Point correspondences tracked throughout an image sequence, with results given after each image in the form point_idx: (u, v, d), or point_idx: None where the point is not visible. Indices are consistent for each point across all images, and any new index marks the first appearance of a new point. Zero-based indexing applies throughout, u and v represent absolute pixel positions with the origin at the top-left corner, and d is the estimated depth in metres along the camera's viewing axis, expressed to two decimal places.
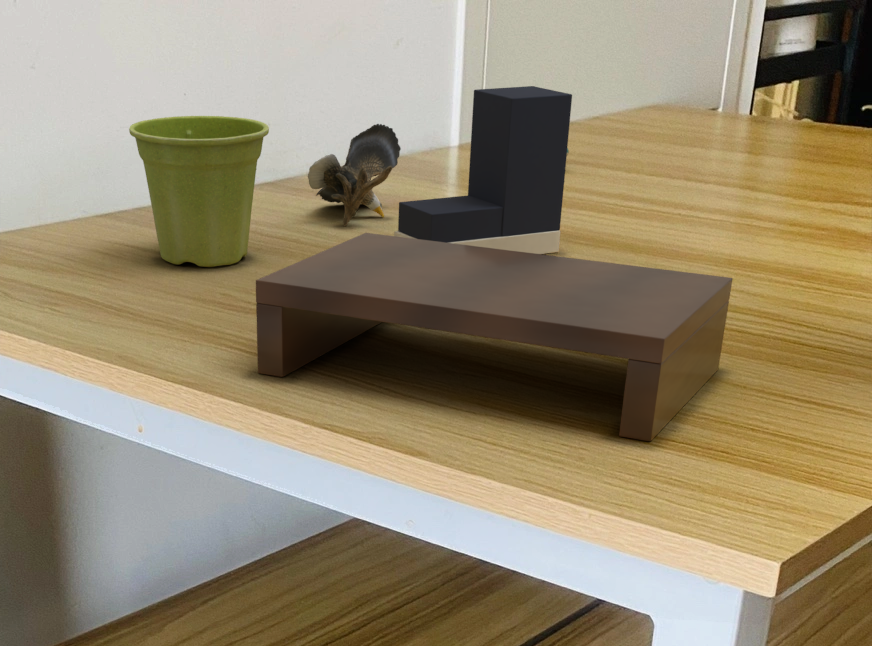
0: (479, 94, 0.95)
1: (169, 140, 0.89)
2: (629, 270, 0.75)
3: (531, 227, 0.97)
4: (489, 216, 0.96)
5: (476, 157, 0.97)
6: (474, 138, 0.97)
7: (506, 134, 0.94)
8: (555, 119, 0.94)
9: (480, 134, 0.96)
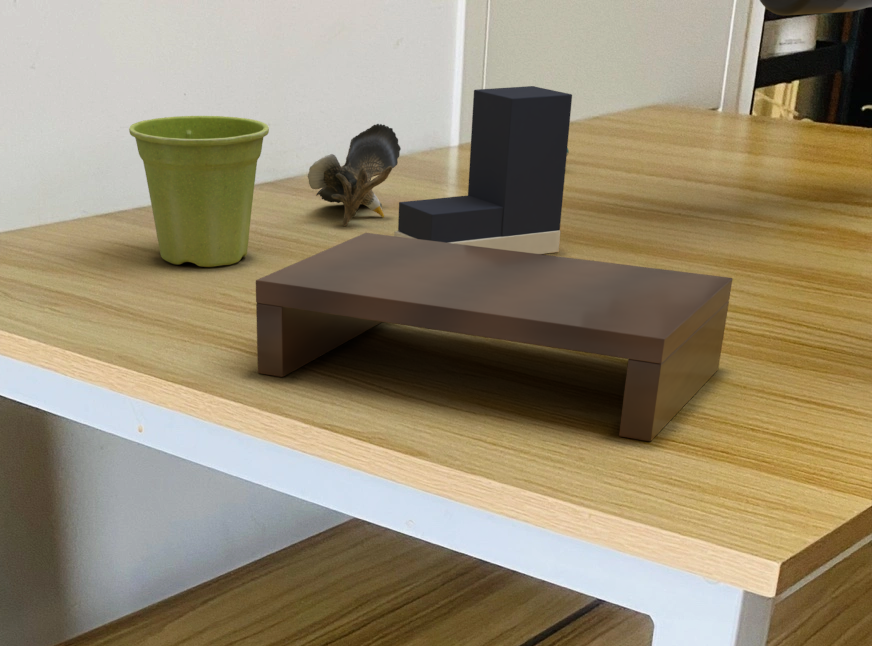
0: (479, 94, 0.95)
1: (169, 140, 0.89)
2: (629, 270, 0.75)
3: (531, 227, 0.97)
4: (489, 216, 0.96)
5: (476, 157, 0.97)
6: (474, 138, 0.97)
7: (506, 134, 0.94)
8: (555, 119, 0.94)
9: (480, 134, 0.96)
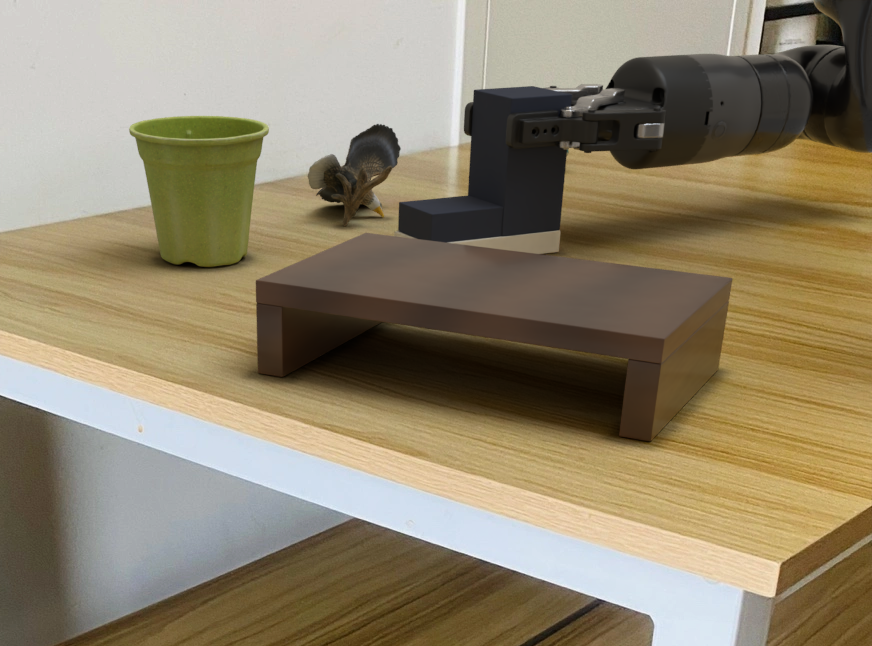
0: (479, 94, 0.95)
1: (169, 140, 0.89)
2: (629, 270, 0.75)
3: (531, 227, 0.97)
4: (489, 216, 0.96)
5: (476, 157, 0.97)
6: (474, 138, 0.97)
7: None
8: None
9: (480, 134, 0.96)
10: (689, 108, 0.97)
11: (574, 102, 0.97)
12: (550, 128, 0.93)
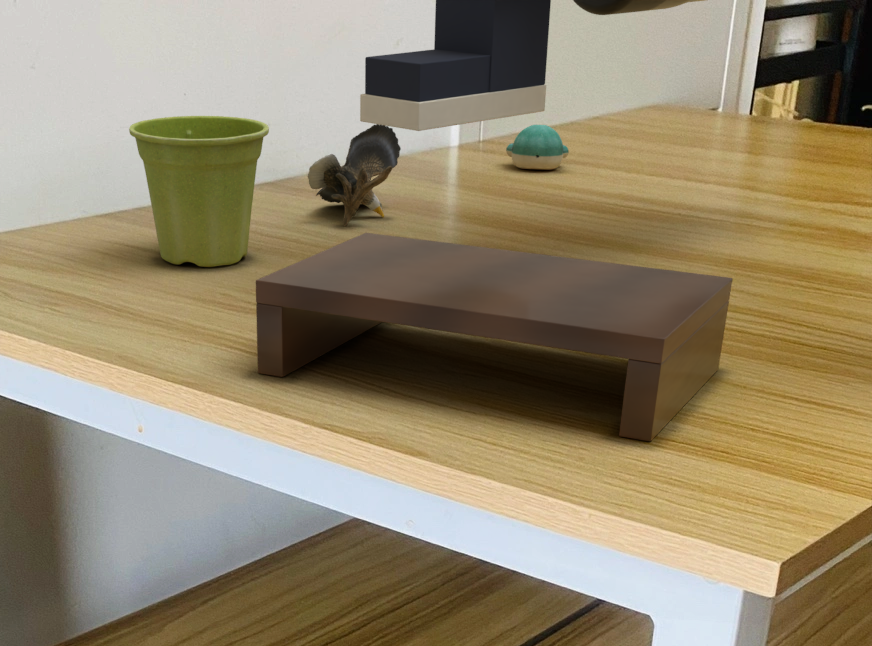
0: None
1: (169, 140, 0.89)
2: (629, 270, 0.75)
3: (518, 80, 0.83)
4: (477, 67, 0.80)
5: (446, 0, 0.82)
6: None
7: None
8: None
9: None
10: None
11: None
12: None
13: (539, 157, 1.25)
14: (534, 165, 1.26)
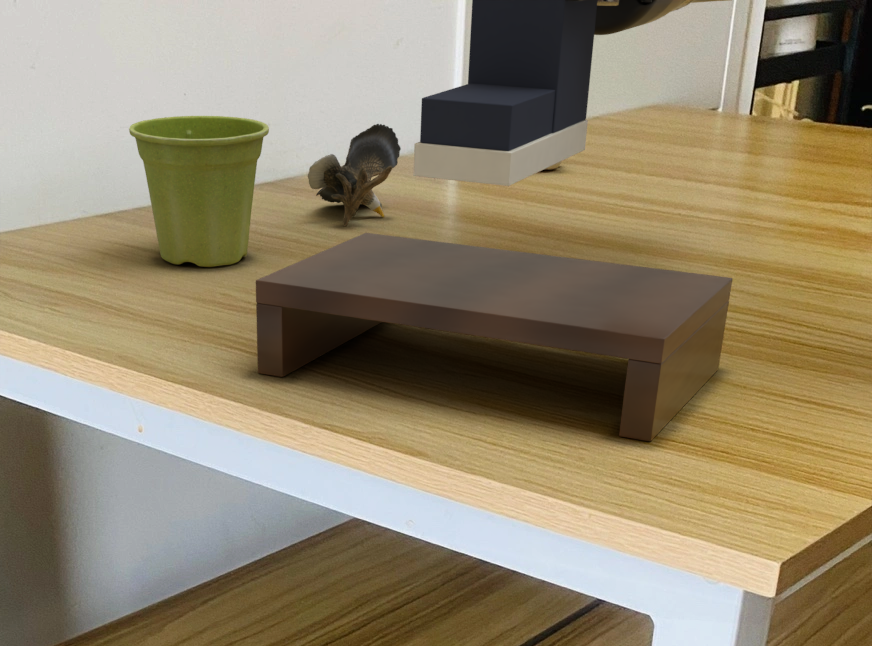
0: None
1: (169, 140, 0.89)
2: (629, 270, 0.75)
3: (571, 117, 0.70)
4: (546, 104, 0.67)
5: (487, 25, 0.67)
6: None
7: None
8: None
9: None
10: None
11: None
12: None
13: None
14: None
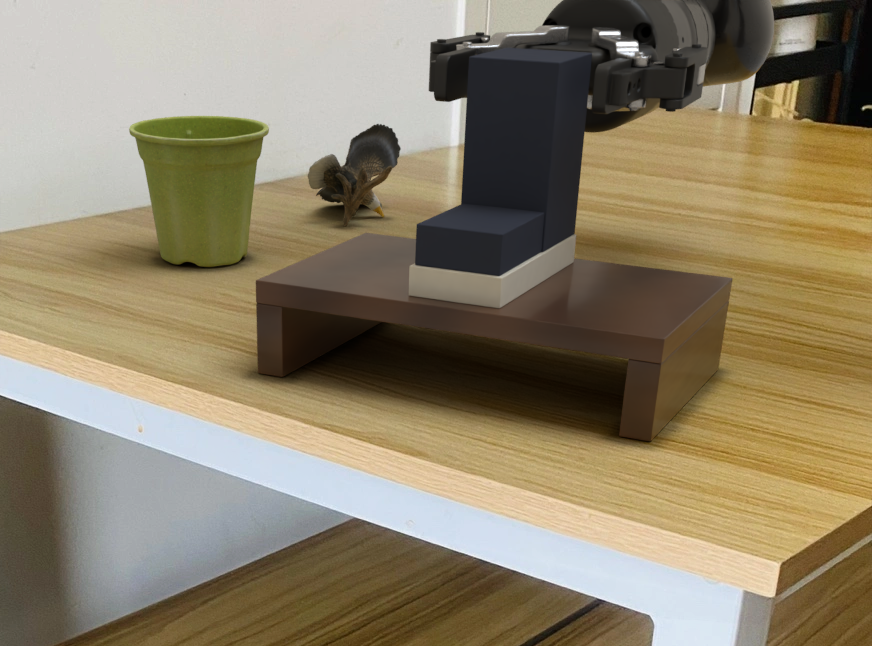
0: (483, 62, 0.68)
1: (169, 140, 0.89)
2: (629, 270, 0.75)
3: (560, 235, 0.73)
4: (536, 227, 0.70)
5: (479, 150, 0.70)
6: (474, 124, 0.70)
7: (548, 113, 0.68)
8: (581, 88, 0.70)
9: (487, 118, 0.70)
10: (668, 47, 0.77)
11: (559, 48, 0.73)
12: (636, 82, 0.69)
13: None
14: None
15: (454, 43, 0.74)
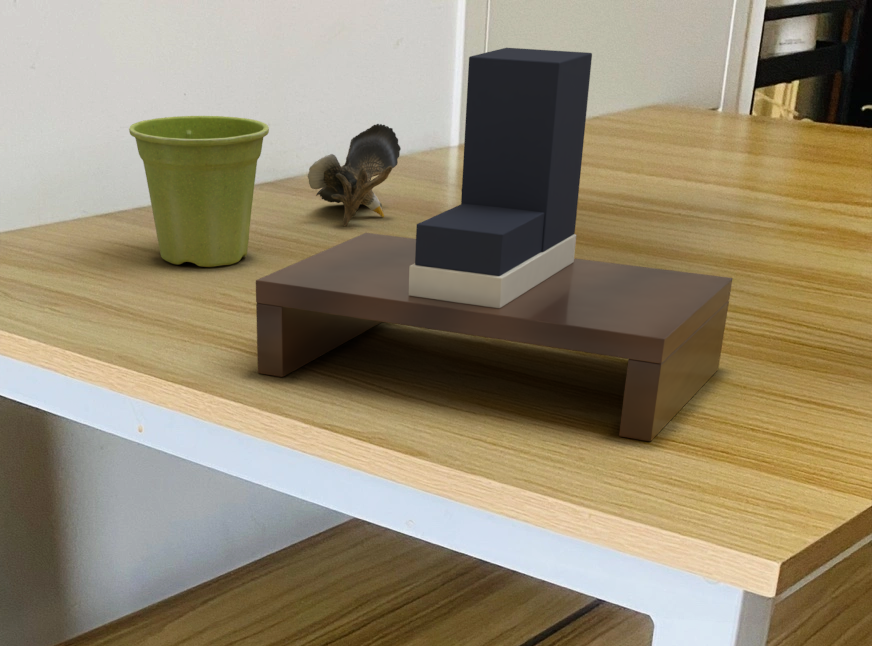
0: (483, 62, 0.68)
1: (169, 140, 0.89)
2: (629, 270, 0.75)
3: (560, 235, 0.73)
4: (536, 227, 0.70)
5: (479, 150, 0.70)
6: (474, 124, 0.70)
7: (548, 113, 0.68)
8: (581, 88, 0.70)
9: (487, 118, 0.70)
10: None
11: None
12: None
13: None
14: None
15: None
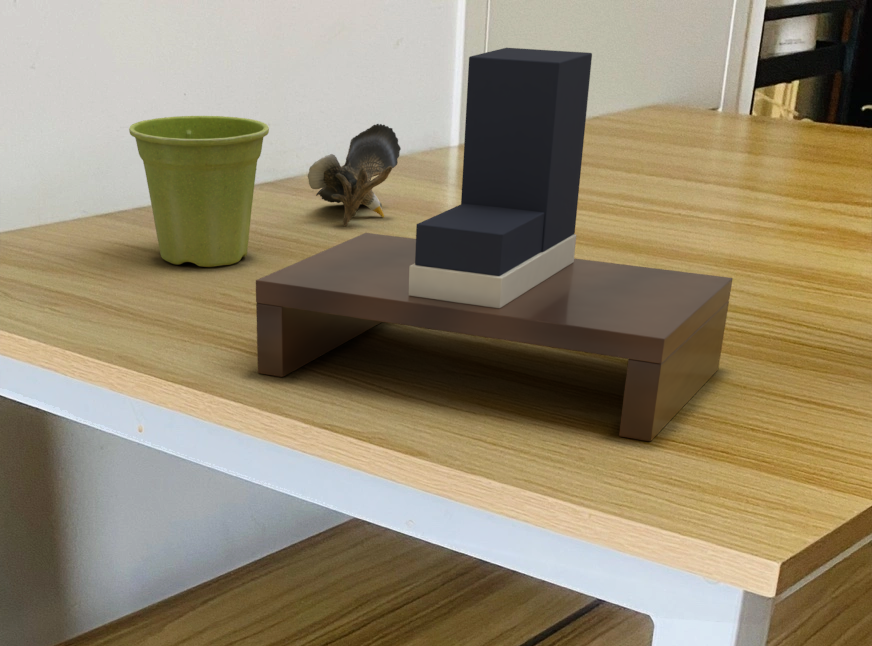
0: (483, 62, 0.68)
1: (169, 140, 0.89)
2: (629, 270, 0.75)
3: (560, 235, 0.73)
4: (536, 227, 0.70)
5: (479, 150, 0.70)
6: (474, 124, 0.70)
7: (548, 113, 0.68)
8: (581, 88, 0.70)
9: (487, 118, 0.70)
10: None
11: None
12: None
13: None
14: None
15: None
